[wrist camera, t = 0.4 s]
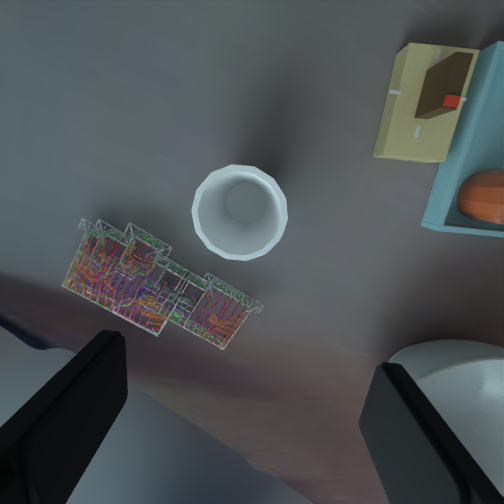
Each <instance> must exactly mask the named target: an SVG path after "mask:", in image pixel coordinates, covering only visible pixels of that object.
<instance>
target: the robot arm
mask: <svg viewBox="0 0 504 504" xmlns="http://www.w3.org/2000/svg"><path fill="white" fill-rule="evenodd" d="M127 395H128V389H127V367H126V345H125V337H124V336H121V333H120V332H118V331H109V330H102V331H100V332H99V333H98V334H97V335H96V336H95V337H94V338H93V339H92V340H91V341H90V342H89V343H88V344H87V345H86V346H85V347H84V348H83V349H82V350H81V351H80V352H79V353H78V354H77V355H76V356H74V358H72V359H71V360H70V361H69V362H68V363H67V364H66V365H65V366H64V367H63V368H62V369H61V370H60V371H58V372H57V373H56V374H55V375H54V376H53V377H52V378H51V379H50V380H49V381H48V382H47V383H46V384H45V385H44V386H43V387H42V388H41V389H40V390H39V391H38V392H37V393H36V394H35V395H33V397H31V398H30V399H29V400H28V401H27V403H25V404H24V405H23V406H22V407H21V408H20V409H19V410H18V411H17V412H16V413H15V414H14V415H13V416H12V417H11V418H10V419H9V420H8V421H7V422H6V423H5V424H4V425H2V426H1V427H0V504H65V503H66V502H67V500H68V498H69V497H70V495H71V494H72V492H73V490H74V488H75V487H76V485H77V483H78V482H79V480H80V478H81V477H82V475H83V473H84V472H85V470H86V468H87V467H88V465H89V463H90V462H91V460H92V458H93V456H94V455H95V453H96V451H97V449H98V448H99V446H100V445H101V443H102V441H103V440H104V438H105V436H106V435H107V433H108V431H109V429H110V428H111V426H112V424H113V423H114V421H115V419H116V418H117V416H118V414H119V413H120V411H121V409H122V408H123V406H124V404H125V402H126V399H127ZM359 426H360V430H361V433H362V436H363V438H364V441H365V443H366V446H367V448H368V450H369V453H370V455H371V458H372V460H373V463H374V465H375V468H376V470H377V473H378V475H379V478H380V480H381V483H382V485H383V488H384V490H385V493H386V495H387V498H388V500H389V503H390V504H504V498H503V496H502V495H501V494H500V492H499V491H498V490H497V488H496V487H495V486H494V484H493V483H492V482H491V480H490V479H489V478H488V477H487V475H486V474H485V473H484V471H483V470H482V469H481V467H480V466H479V465H478V463H477V462H476V461H475V460H474V458H473V457H472V456H471V454H470V453H469V452H468V450H467V449H466V448H465V447H464V445H463V444H462V443H461V441H460V440H459V439H458V437H457V436H456V435H455V433H454V432H453V431H452V430H451V428H450V427H449V426H448V424H447V423H446V422H445V420H444V419H443V418H442V416H441V415H440V414H439V413H438V411H437V410H436V409H435V407H434V406H433V405H432V403H431V402H430V401H429V399H428V398H427V397H426V396H425V394H424V393H423V392H422V390H421V389H420V388H419V386H418V385H417V384H416V382H415V381H414V380H413V379H412V377H411V376H410V375H409V373H408V372H407V371H406V369H405V368H404V367H403V366H402V365H401V364H399V363H390V362H382V363H381V365H380V366H377V367H376V370H375V373H374V376H373V379H372V382H371V385H370V388H369V391H368V395H367V398H366V401H365V404H364V407H363V410H362V413H361V416H360V420H359Z"/></svg>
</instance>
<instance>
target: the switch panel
mask: <svg viewBox="0 0 504 504" xmlns="http://www.w3.org/2000/svg"><path fill="white" fill-rule="evenodd" d="M479 51H480V50H477V49H468V48H458V47H449V46H439V45H430V44H420V43H411V42H410V43H409V44H408V45H407V46H406V47H405V48H403V49H402V50H401V51H400V52H399V53H398V54H397V55H396V58H395V62H394V67H393V71H392V75H391V80H390V84H389V88H388V93H387V97H386V102H385V106H384V110H383V115H382V119H381V123H380V128H379V132H378V136H377V141H376V145H375V149H374V154H373V157H378V158H387V159H397V160H407V161H416V162H426V163H434V162H445V160H446V156H447V153H448V150H449V147H450V144H451V140H452V137H453V134H454V131H455V128H456V124H457V121H458V118H459V115H460V112H461V108H462V105H463V102H464V101H466V99H467V98H466V97H465V96H466V92H467V89H468V86H469V83H470V80H471V77H472V73H473V70H474V67H475V64H476V61H477V57H478V54H479ZM455 52H466V53H474V55H473V58H472V61H471V65H470V68H469V71H468V74H467V78H466V81H465V84H464V87H463V91H462V94H461V99H460V102H459V105H458V107H457V109H456V110H454V111H451V112H448V113H445V114H442V115H439V116H436V117H433V118H431V119H421V118H414V117H415V113H416V109H417V105H418V102H419V98H420V94H421V90H422V87H423V83H424V79H425V75H426V71H427V70H428V69H430V68H431V67H433V66H434V65H436V64H438V63H439V62H441V61H442V60H444V59H445V58H447V57H449V56H450V55H452V54H453V53H455Z"/></svg>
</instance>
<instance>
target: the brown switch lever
mask: <svg viewBox="0 0 504 504" xmlns="http://www.w3.org/2000/svg"><path fill="white" fill-rule="evenodd" d="M473 55H474V53H466V52H455V53H453V54H452V55H450V56H449V57H447V58H445V59H444V60H442V61H441V62H439V63H438V64H436V65H434V66H433V67H431V68H430V69H428V70H427V71H426V75H425V79H424V83H423V87H422V90H421V94H420V98H419V102H418V105H417V109H416V113H415V117H414V118H421V119H431V118H433V117H436V116H439V115H442V114H445V113H448V112H451V111H454V110H456V109H457V107H458V105H459V102H460V99H461V94H462V91H463V87H464V84H465V81H466V78H467V74H468V71H469V68H470V65H471V61H472V58H473Z"/></svg>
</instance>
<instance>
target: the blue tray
mask: <svg viewBox="0 0 504 504" xmlns="http://www.w3.org/2000/svg"><path fill="white" fill-rule="evenodd" d="M465 97H466V98H467V99H466V101H464V102H463V105H462V108H461V112H460V115H459V118H458V121H457V124H456V128H455V131H454V134H453V137H452V140H451V144H450V147H449V150H448V153H447V156H446V160H445V162H440V164H439V167H438V171H437V174H436V177H435V180H434V184H433V187H432V190H431V193H430V197H429V200H428V203H427V206H426V210H425V213H424V216H423V219H422V223H421V226H423V227H426V228H430V229H433V230H436V231H446V232H456V233H465V234H475V235H485V236H494V237H504V225H503V224H498V223H493V222H487V221H482V220H477V219H472V218H469V217H466V216H464V215H463V214H462V213H461V212H460V211H459V209H458V207H457V203H456V197H457V193H458V190H459V188H460V186H461V185H462V183H463V182H464V181H465V180H466V179H467V178H468V177H469V176H471V175H472V174H474V173H476V172H479V171H483V170H487V169H504V41H497V42H496V43H494V44H492V45H490V46H488V47H487V48H485V49H483V50H481V51H480V52H479V54H478V57H477V61H476V64H475V67H474V70H473V73H472V77H471V80H470V83H469V86H468V89H467V92H466V96H465Z"/></svg>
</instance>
